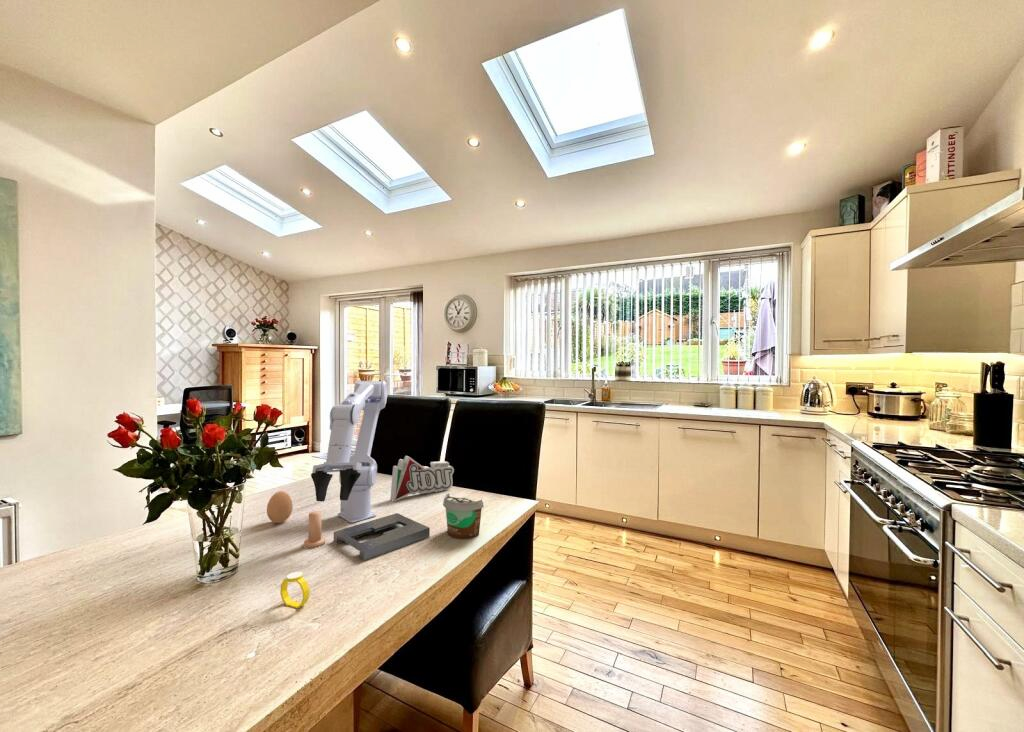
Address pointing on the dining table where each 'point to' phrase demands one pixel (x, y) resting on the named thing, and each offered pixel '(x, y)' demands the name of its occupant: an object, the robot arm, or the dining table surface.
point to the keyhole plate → (389, 540)
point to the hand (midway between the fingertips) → (331, 500)
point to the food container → (462, 517)
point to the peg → (314, 531)
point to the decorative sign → (419, 478)
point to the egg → (279, 507)
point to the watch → (303, 584)
